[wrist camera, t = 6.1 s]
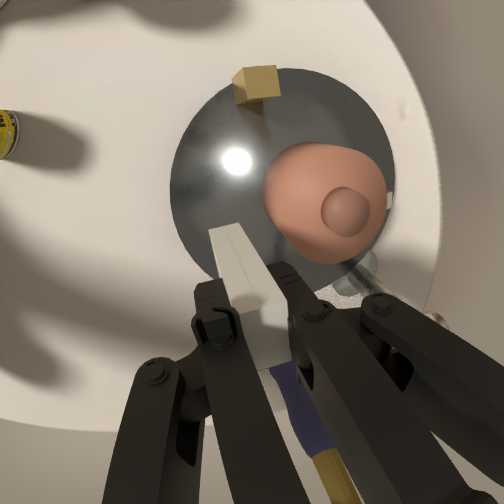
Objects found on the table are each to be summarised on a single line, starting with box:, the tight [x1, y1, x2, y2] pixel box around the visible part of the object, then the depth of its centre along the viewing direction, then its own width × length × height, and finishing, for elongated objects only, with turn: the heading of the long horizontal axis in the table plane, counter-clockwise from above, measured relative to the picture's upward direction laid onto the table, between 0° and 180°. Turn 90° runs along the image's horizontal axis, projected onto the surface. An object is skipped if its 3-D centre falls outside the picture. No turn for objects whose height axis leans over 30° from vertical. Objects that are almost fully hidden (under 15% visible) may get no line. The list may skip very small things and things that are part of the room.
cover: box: [262, 142, 387, 264], centre depth 19 cm, size 8×8×6 cm
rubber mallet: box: [269, 352, 362, 504], centre depth 20 cm, size 12×8×30 cm, turn 89°
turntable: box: [170, 65, 395, 292], centre depth 21 cm, size 20×20×6 cm
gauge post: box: [331, 250, 451, 331], centre depth 23 cm, size 6×6×16 cm
